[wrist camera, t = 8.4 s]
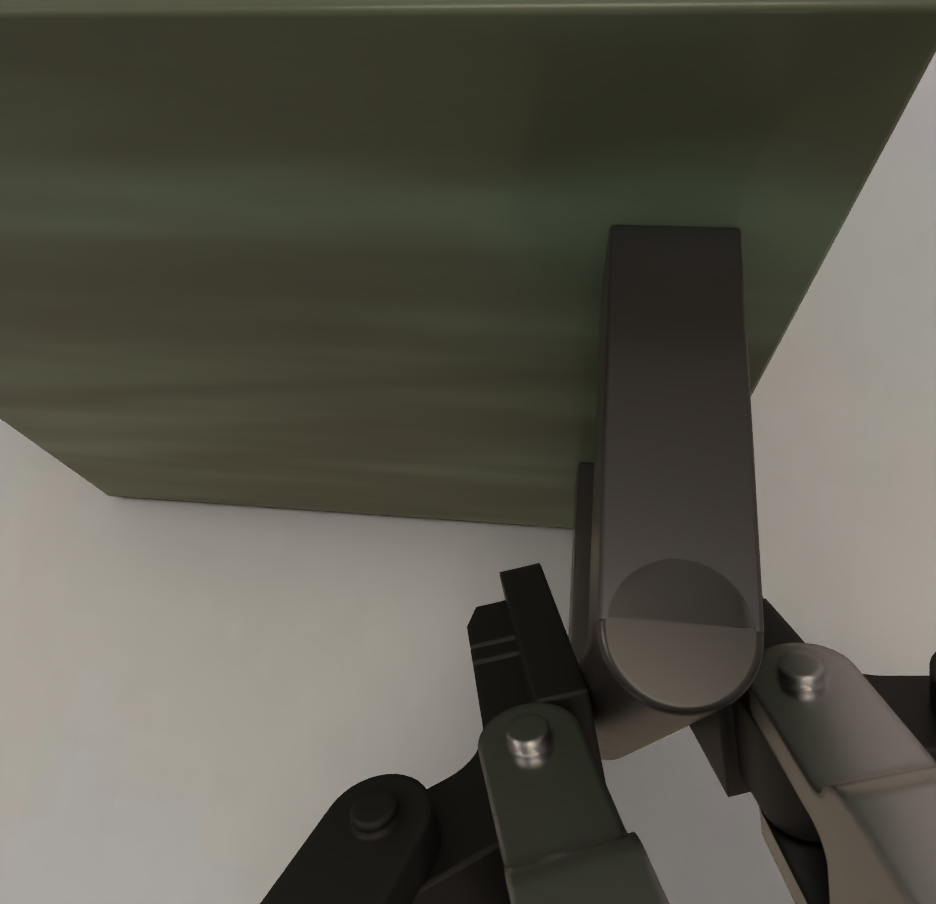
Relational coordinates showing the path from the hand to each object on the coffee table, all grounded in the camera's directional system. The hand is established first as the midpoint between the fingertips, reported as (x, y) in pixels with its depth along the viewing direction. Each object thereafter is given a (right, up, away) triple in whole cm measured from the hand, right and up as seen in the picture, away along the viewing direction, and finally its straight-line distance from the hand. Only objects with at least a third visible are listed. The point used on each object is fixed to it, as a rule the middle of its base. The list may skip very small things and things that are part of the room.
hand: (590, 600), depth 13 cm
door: (-5, -1, +7) cm, 8 cm away
